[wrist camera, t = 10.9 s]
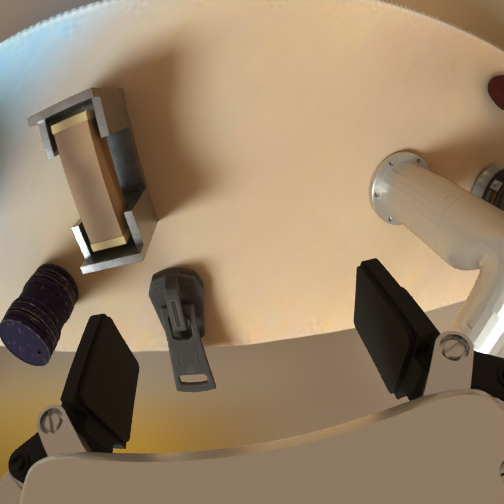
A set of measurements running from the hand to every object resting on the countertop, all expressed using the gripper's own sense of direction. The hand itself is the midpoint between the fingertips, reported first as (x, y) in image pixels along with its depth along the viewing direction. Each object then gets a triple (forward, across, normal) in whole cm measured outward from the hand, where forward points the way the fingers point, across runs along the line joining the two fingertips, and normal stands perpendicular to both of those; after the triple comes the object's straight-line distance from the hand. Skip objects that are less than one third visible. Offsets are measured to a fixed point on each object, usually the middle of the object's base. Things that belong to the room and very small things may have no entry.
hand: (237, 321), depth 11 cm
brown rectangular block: (+27, +15, -2) cm, 31 cm away
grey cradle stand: (+32, +15, -2) cm, 36 cm away
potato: (+33, -54, -8) cm, 64 cm away
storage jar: (+32, +34, +15) cm, 49 cm away
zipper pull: (+33, +12, +29) cm, 45 cm away
